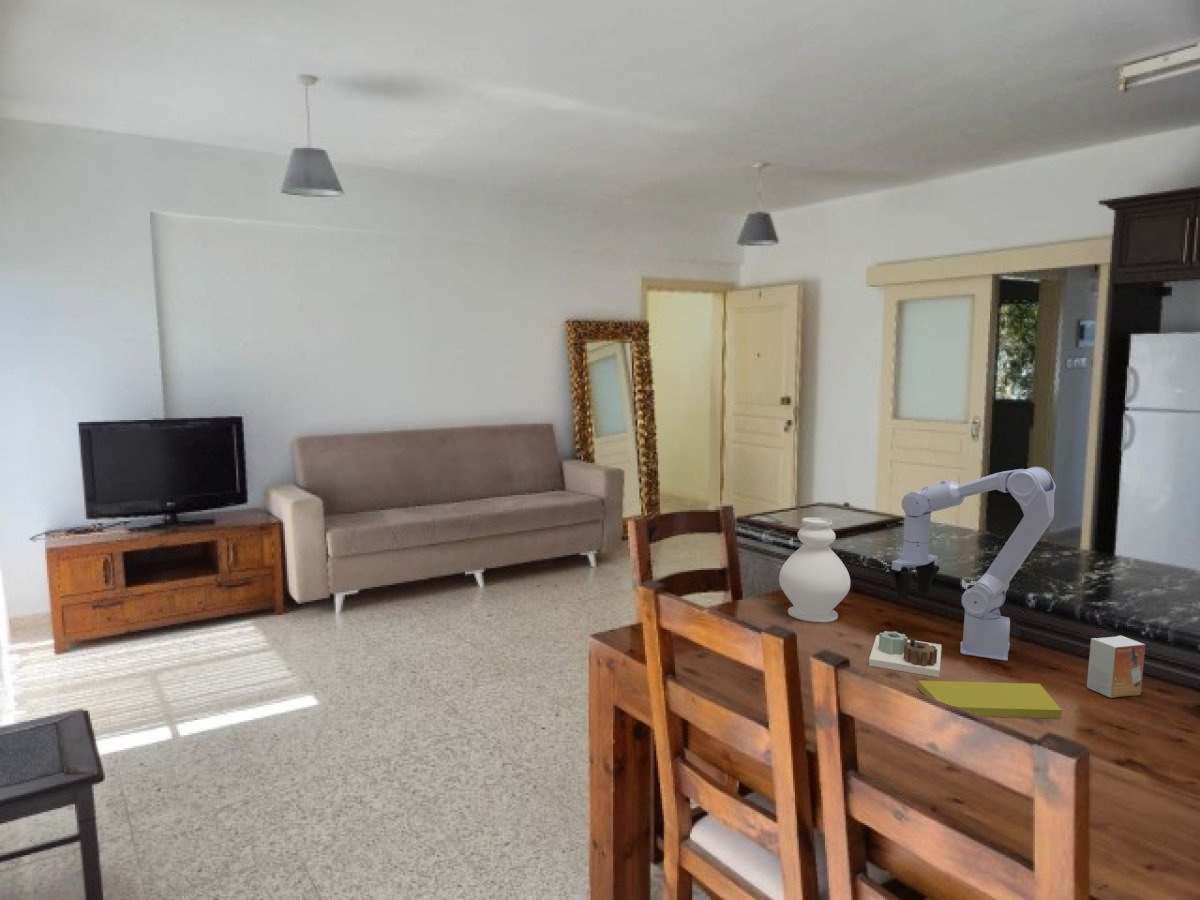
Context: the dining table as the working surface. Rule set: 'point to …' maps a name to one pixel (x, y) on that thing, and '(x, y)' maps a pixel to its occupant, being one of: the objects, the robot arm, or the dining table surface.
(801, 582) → the decorative vase
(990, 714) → the flat olive board
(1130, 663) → the small box
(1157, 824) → the dining table surface
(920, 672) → the gear board
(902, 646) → the sage gear
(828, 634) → the dining table surface
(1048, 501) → the robot arm
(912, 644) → the drive gear
